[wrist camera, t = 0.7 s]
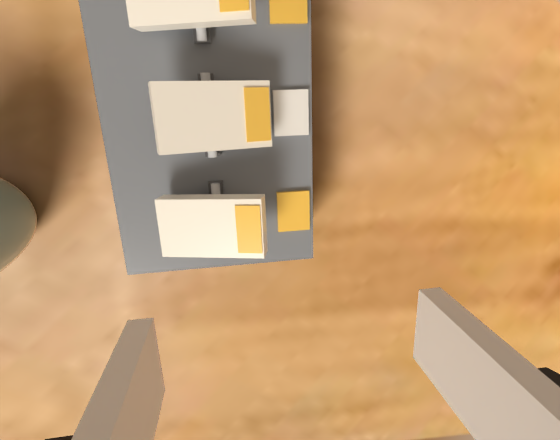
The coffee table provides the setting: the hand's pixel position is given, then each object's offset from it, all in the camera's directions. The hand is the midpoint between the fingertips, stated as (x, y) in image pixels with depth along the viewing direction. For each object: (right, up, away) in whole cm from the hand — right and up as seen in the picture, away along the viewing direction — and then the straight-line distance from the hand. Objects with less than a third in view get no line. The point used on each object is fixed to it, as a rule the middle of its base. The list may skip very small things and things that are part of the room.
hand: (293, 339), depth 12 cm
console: (-6, +13, +18) cm, 23 cm away
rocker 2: (-5, +11, +11) cm, 16 cm away
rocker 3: (-5, +4, +13) cm, 15 cm away
